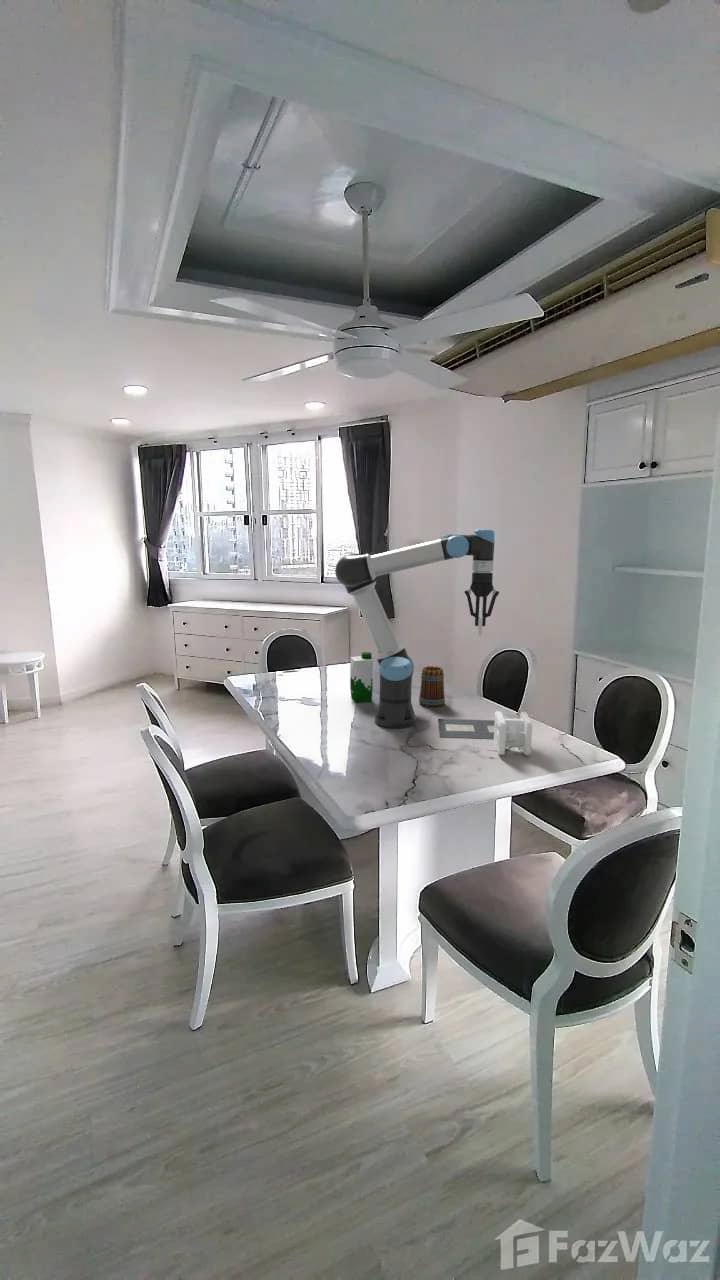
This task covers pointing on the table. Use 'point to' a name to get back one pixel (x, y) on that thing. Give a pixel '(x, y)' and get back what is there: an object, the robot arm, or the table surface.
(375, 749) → the table surface
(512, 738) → the cable organizer
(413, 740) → the table surface
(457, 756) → the table surface
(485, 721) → the panel
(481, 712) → the table surface
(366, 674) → the milk carton
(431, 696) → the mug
